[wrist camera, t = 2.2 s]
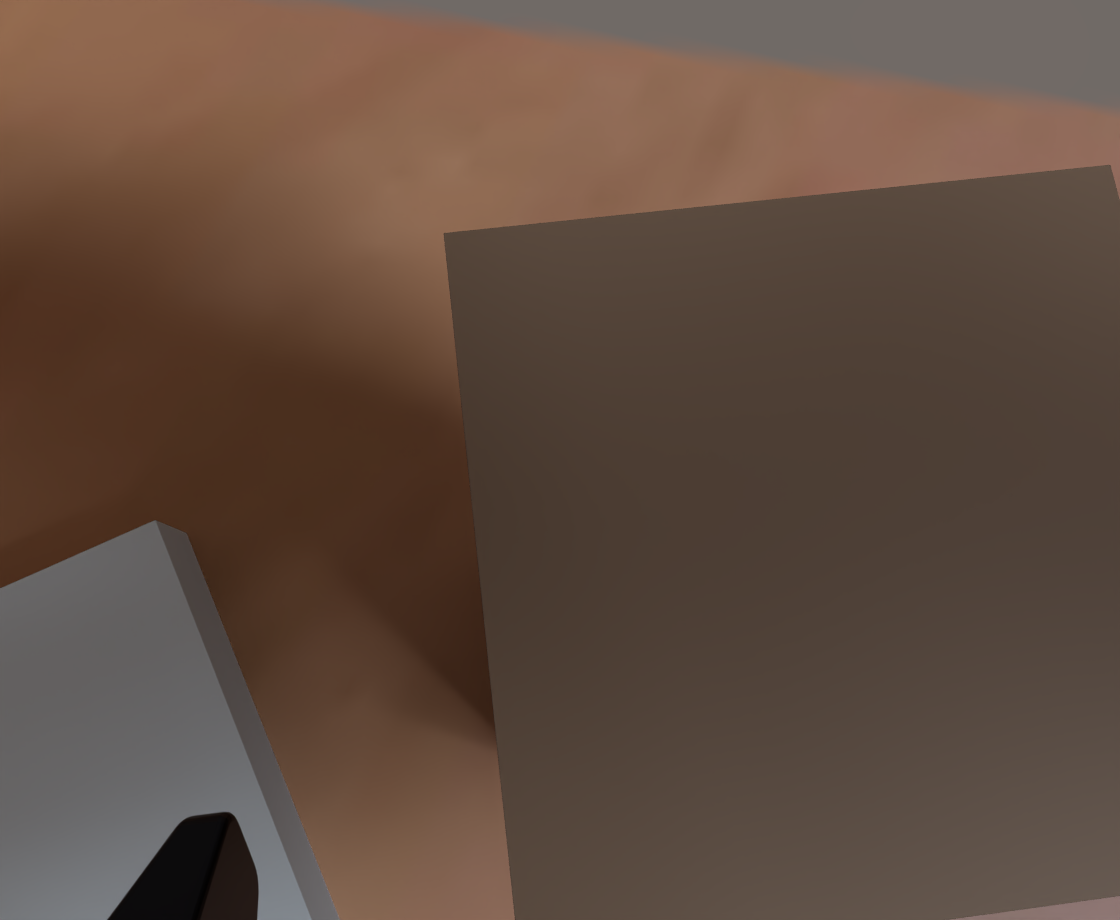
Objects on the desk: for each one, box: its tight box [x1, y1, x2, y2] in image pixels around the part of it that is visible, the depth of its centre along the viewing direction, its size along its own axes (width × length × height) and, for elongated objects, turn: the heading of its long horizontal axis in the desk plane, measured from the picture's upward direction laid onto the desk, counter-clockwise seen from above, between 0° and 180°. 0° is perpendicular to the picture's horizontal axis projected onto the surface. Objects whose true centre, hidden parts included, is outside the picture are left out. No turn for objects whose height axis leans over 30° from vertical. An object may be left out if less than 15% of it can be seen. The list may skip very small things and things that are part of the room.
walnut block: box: [444, 165, 1120, 920], centre depth 12 cm, size 4×4×13 cm
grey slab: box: [0, 520, 340, 920], centre depth 17 cm, size 8×8×2 cm
